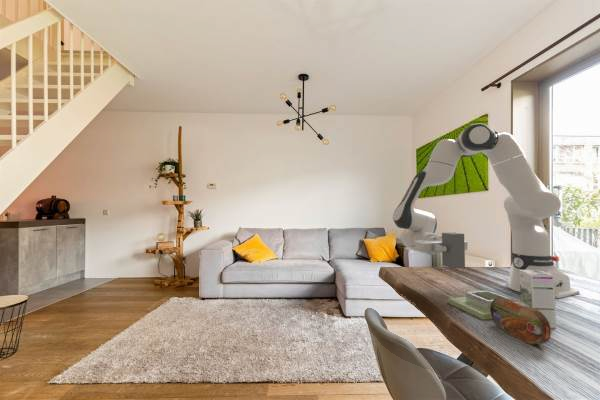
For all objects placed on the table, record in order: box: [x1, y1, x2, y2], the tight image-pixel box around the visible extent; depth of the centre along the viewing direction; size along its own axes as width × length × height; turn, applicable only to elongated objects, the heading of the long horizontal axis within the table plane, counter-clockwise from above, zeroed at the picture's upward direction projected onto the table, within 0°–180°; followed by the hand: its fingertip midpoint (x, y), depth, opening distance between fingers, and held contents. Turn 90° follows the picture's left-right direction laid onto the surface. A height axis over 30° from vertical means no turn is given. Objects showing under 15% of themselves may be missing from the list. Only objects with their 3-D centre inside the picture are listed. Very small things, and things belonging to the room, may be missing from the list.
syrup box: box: [519, 270, 557, 329], centre depth 76 cm, size 6×6×14 cm
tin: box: [490, 298, 552, 345], centre depth 69 cm, size 15×3×8 cm, turn 5°
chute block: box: [441, 232, 466, 269], centre depth 97 cm, size 5×5×12 cm
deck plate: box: [447, 290, 513, 321], centre depth 86 cm, size 16×14×4 cm
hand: (455, 248), depth 96 cm, fingers closed on chute block, 5 cm apart
